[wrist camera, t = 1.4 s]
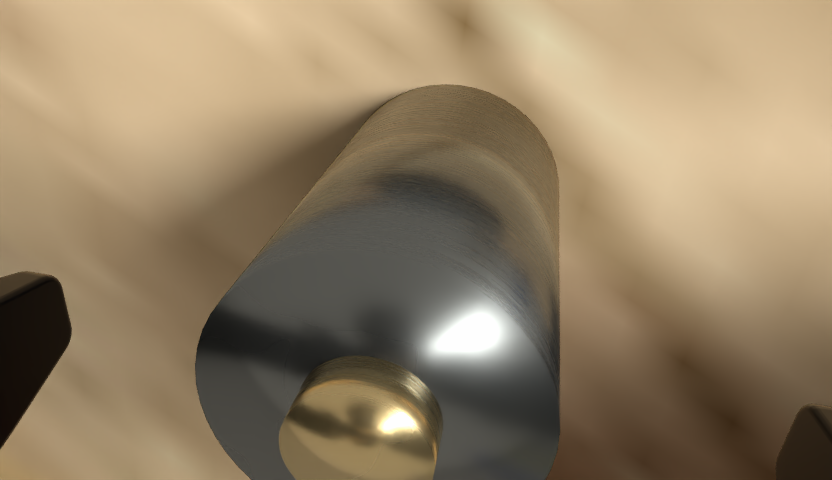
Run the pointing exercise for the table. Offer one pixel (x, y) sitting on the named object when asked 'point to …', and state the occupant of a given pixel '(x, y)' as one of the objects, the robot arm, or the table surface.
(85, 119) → the table surface
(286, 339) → the battery cell
